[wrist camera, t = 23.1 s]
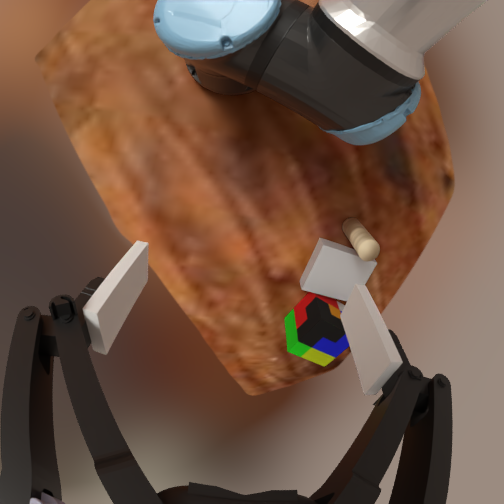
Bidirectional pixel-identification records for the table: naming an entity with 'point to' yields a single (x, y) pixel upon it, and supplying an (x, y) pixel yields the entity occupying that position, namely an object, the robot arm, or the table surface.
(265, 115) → the table surface
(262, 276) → the table surface
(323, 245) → the slab
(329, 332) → the puzzle toy
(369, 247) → the dowel
